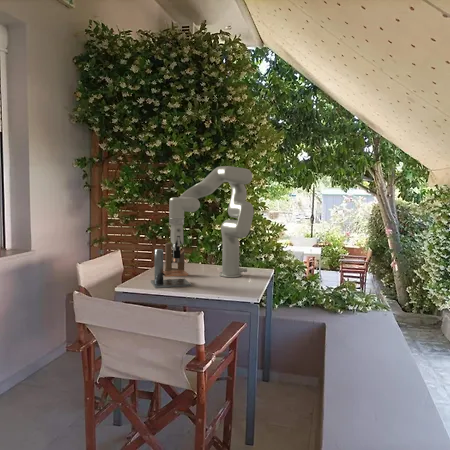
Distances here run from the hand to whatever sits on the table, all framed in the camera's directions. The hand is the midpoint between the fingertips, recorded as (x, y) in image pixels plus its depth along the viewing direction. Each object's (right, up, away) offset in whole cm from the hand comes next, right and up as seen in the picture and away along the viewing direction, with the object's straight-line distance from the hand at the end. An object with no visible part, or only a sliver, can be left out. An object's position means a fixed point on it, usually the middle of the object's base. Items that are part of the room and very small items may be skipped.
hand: (176, 257), depth 226 cm
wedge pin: (0, -2, 0) cm, 2 cm away
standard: (-3, -14, 0) cm, 14 cm away
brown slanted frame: (-4, -12, +24) cm, 27 cm away
